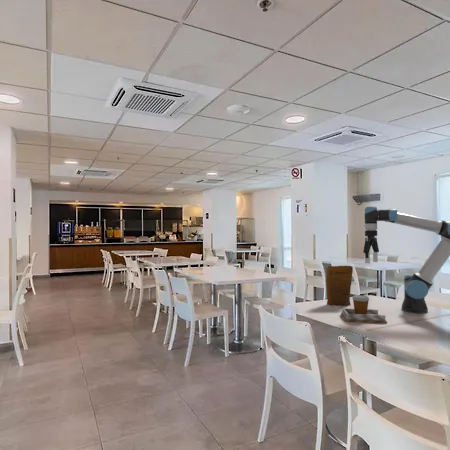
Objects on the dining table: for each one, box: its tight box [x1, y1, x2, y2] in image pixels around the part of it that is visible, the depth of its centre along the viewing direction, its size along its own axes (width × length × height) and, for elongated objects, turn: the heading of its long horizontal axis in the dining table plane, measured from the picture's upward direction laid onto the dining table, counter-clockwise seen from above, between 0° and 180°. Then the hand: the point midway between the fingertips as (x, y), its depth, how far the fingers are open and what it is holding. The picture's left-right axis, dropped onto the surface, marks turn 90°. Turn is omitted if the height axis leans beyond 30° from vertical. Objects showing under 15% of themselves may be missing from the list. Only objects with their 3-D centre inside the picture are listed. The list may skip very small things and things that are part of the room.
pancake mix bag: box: [325, 265, 354, 307], centre depth 242 cm, size 7×19×28 cm, turn 83°
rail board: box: [340, 307, 388, 324], centre depth 203 cm, size 22×17×4 cm
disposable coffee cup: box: [351, 294, 370, 314], centre depth 204 cm, size 10×10×12 cm
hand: (371, 262), depth 224 cm, fingers open, 13 cm apart
